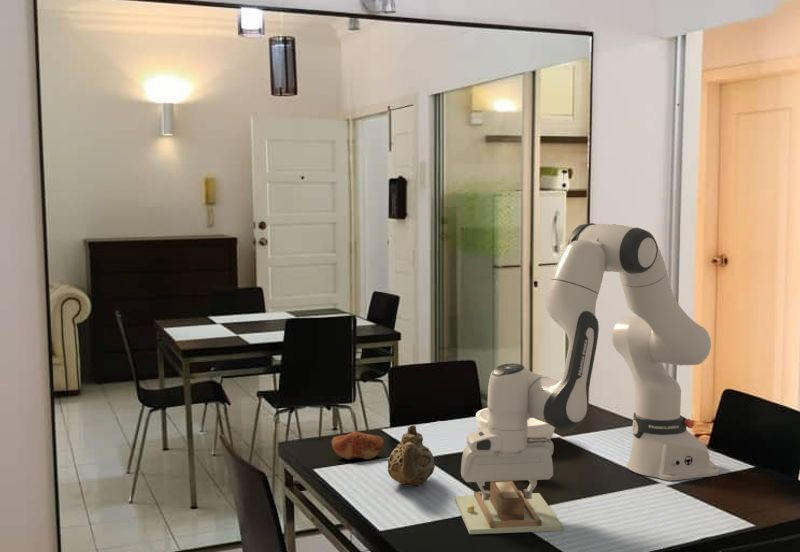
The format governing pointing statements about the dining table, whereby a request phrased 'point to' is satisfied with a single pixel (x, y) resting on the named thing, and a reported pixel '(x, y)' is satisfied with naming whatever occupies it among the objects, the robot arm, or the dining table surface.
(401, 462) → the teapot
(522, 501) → the wooden block
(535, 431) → the bowl
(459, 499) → the mount board
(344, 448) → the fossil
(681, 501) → the dining table surface
